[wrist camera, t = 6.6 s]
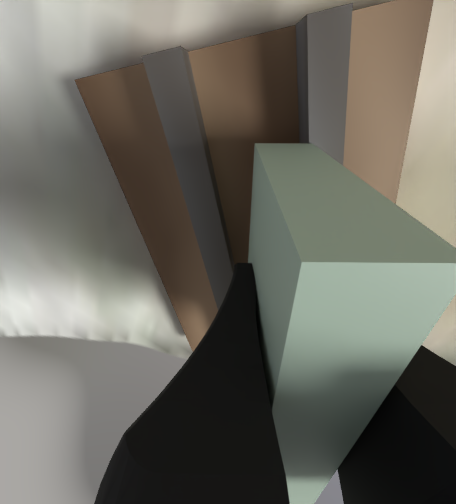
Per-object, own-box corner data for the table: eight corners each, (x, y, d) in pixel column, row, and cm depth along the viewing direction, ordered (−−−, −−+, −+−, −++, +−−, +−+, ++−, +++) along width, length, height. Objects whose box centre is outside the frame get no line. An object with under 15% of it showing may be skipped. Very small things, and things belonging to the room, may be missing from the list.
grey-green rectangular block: (243, 332, 14) (252, 504, 8) (254, 143, 9) (302, 262, 3) (279, 333, 14) (312, 505, 8) (312, 143, 9) (476, 263, 3)
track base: (194, 336, 19) (189, 371, 16) (89, 80, 10) (49, 79, 8) (363, 317, 17) (383, 351, 15) (411, 0, 9) (474, -28, 6)
